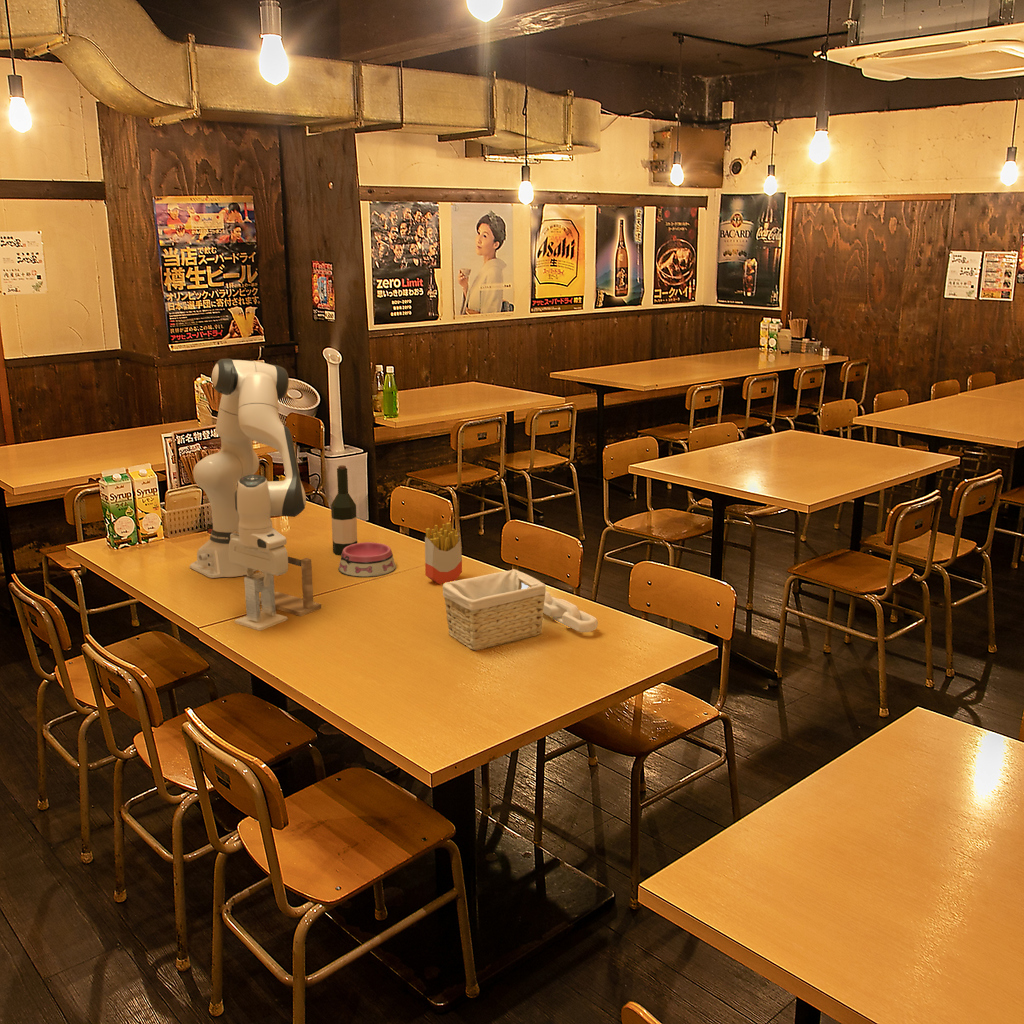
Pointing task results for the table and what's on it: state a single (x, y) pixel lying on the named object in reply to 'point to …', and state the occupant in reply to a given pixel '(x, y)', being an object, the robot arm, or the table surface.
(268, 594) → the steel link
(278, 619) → the ceramic tile
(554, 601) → the chain
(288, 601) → the rail stand
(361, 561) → the dog bowl
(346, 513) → the wine bottle
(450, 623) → the storage basket
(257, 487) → the robot arm
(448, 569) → the french fries container
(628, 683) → the table surface
